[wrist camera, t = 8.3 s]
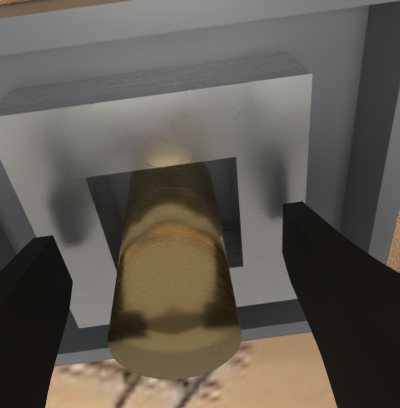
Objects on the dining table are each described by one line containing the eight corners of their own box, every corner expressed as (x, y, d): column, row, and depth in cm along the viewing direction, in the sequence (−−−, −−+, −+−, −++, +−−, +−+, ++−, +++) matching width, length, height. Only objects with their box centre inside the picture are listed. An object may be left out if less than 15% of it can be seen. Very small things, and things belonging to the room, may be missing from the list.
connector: (207, 143, 14) (237, 286, 8) (215, 213, 16) (245, 369, 10) (120, 156, 14) (90, 307, 8) (139, 224, 16) (125, 386, 10)
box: (386, -49, 12) (457, -45, 9) (342, 267, 20) (372, 323, 17) (-113, 20, 12) (-201, 46, 9) (41, 308, 20) (19, 371, 17)
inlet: (288, 51, 12) (312, 73, 10) (284, 256, 17) (300, 298, 15) (11, 89, 12) (-19, 118, 10) (89, 282, 18) (78, 328, 15)
